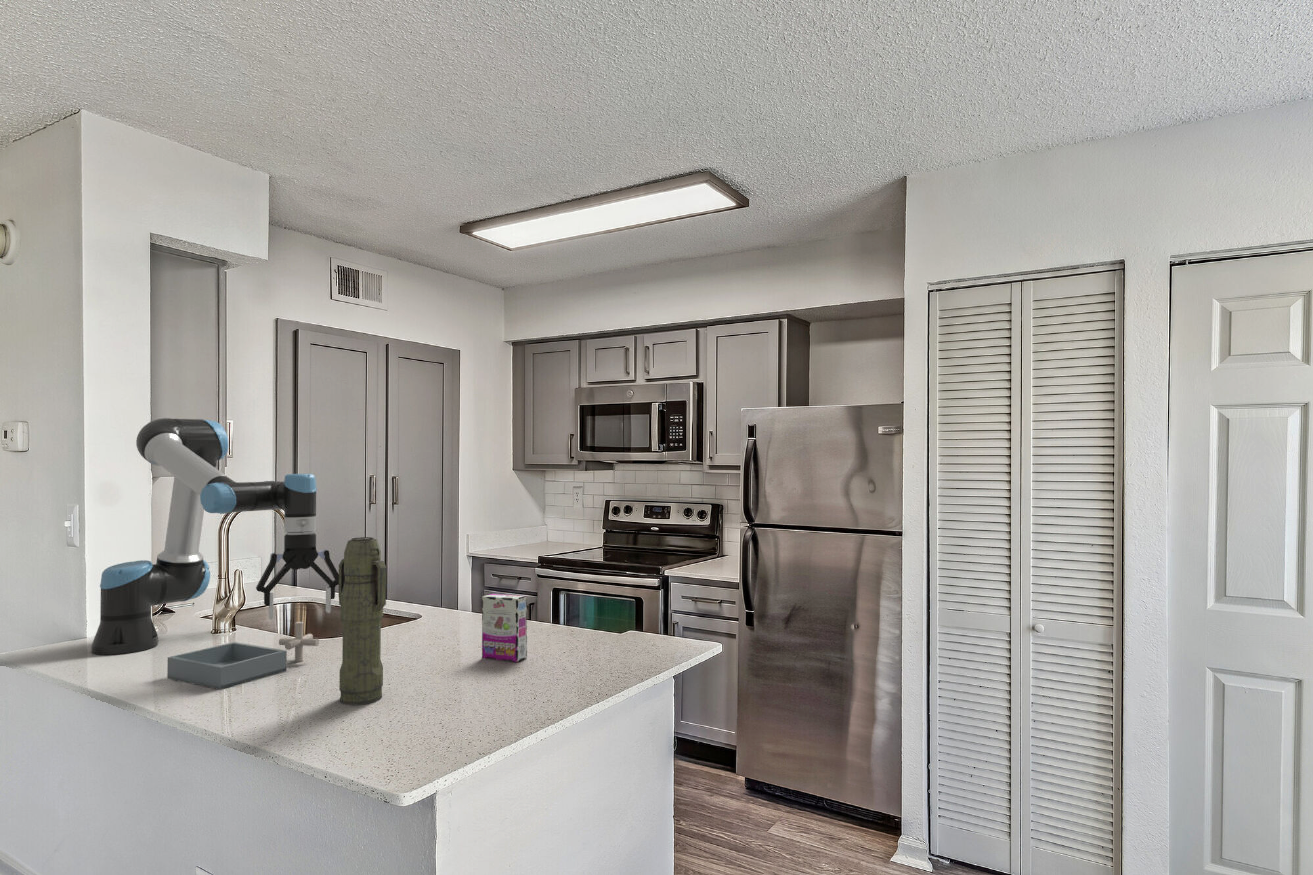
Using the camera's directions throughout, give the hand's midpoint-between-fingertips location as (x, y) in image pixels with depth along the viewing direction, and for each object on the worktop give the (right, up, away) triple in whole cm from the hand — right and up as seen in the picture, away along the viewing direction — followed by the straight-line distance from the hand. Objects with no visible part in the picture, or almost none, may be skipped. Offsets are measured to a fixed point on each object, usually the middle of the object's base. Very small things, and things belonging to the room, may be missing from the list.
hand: (300, 615), depth 198 cm
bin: (-12, -12, -12) cm, 21 cm away
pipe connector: (0, -12, 0) cm, 12 cm away
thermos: (+28, -11, -31) cm, 43 cm away
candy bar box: (+53, -12, +3) cm, 54 cm away
